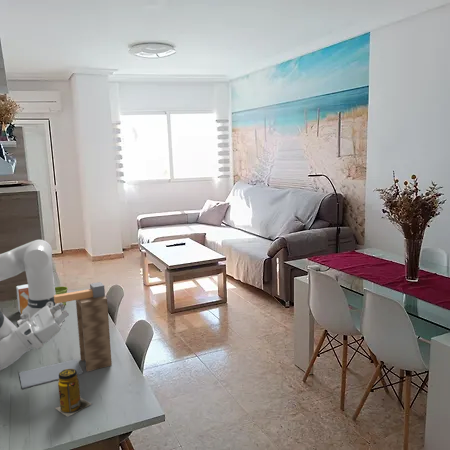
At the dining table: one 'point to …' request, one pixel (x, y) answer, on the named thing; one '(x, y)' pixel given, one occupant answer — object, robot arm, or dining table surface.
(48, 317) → the robot arm
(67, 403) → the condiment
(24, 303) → the small box
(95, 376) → the dining table surface
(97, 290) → the hammer with orange handle
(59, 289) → the plant pot
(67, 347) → the dining table surface
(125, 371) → the dining table surface
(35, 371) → the grey mat
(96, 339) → the walnut shelf
